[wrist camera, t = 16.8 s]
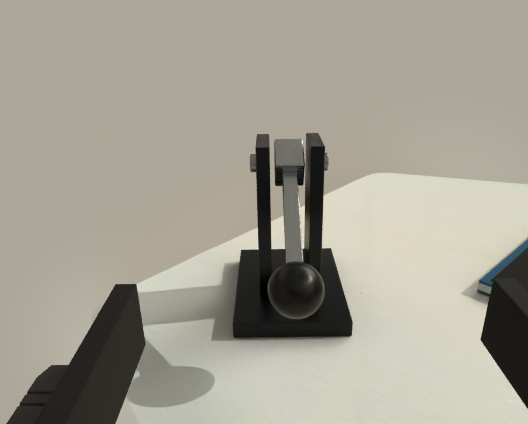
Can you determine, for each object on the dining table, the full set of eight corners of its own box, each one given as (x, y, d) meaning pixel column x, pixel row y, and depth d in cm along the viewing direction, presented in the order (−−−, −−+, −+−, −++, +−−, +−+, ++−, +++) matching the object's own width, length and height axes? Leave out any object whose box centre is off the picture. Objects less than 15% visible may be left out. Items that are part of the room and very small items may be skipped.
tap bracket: (351, 336, 34) (363, 160, 28) (233, 337, 34) (223, 163, 28) (330, 259, 45) (336, 123, 39) (241, 261, 45) (235, 125, 39)
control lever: (324, 327, 28) (330, 303, 25) (268, 328, 28) (267, 304, 25) (309, 164, 37) (312, 132, 34) (266, 165, 37) (265, 133, 34)
